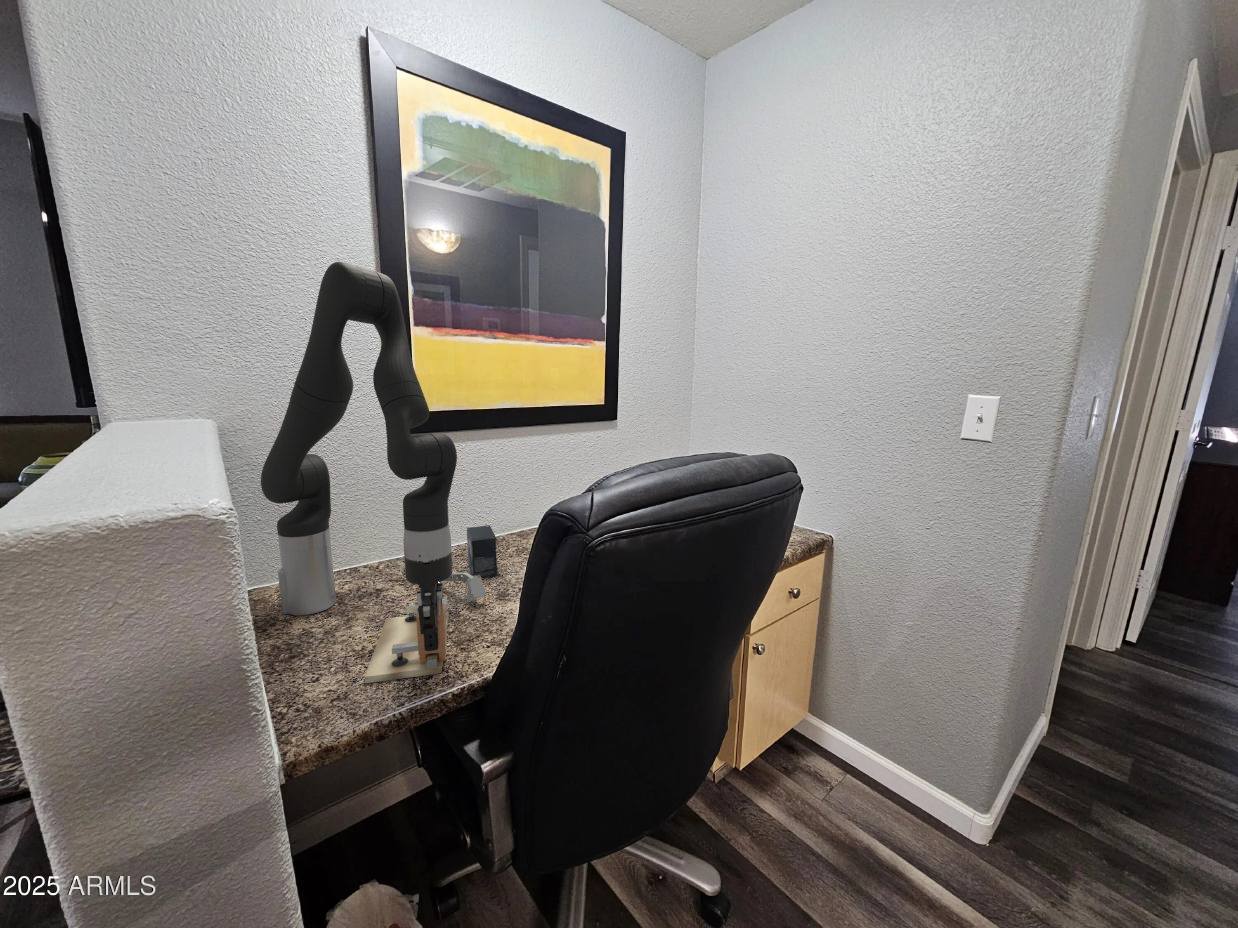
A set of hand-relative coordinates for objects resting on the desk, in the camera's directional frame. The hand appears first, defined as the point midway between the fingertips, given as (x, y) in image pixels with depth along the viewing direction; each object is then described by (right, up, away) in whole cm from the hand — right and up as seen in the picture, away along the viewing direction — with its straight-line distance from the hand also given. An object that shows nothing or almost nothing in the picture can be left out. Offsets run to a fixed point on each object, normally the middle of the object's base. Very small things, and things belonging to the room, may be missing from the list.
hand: (432, 642), depth 86 cm
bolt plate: (-6, -3, +6) cm, 9 cm away
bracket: (-7, +1, +29) cm, 29 cm away
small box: (-3, +4, +41) cm, 42 cm away
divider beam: (-4, -2, +6) cm, 8 cm away
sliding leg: (-2, -3, 0) cm, 3 cm away
